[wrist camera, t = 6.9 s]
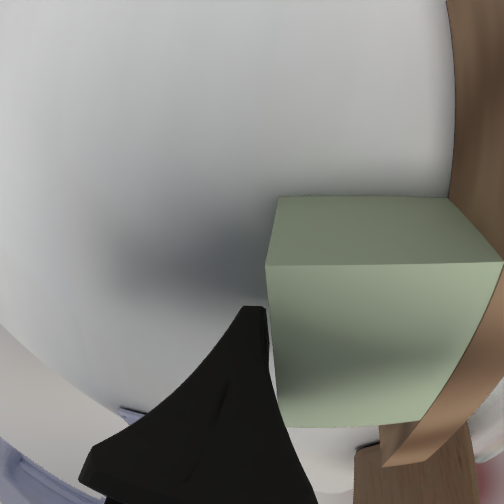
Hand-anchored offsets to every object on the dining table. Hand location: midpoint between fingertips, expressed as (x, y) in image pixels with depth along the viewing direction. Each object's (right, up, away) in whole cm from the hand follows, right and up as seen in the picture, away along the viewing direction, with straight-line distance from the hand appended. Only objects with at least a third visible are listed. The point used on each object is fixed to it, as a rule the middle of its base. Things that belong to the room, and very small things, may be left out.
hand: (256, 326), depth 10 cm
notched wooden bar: (+9, +1, 0) cm, 9 cm away
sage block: (+4, +1, +1) cm, 4 cm away
